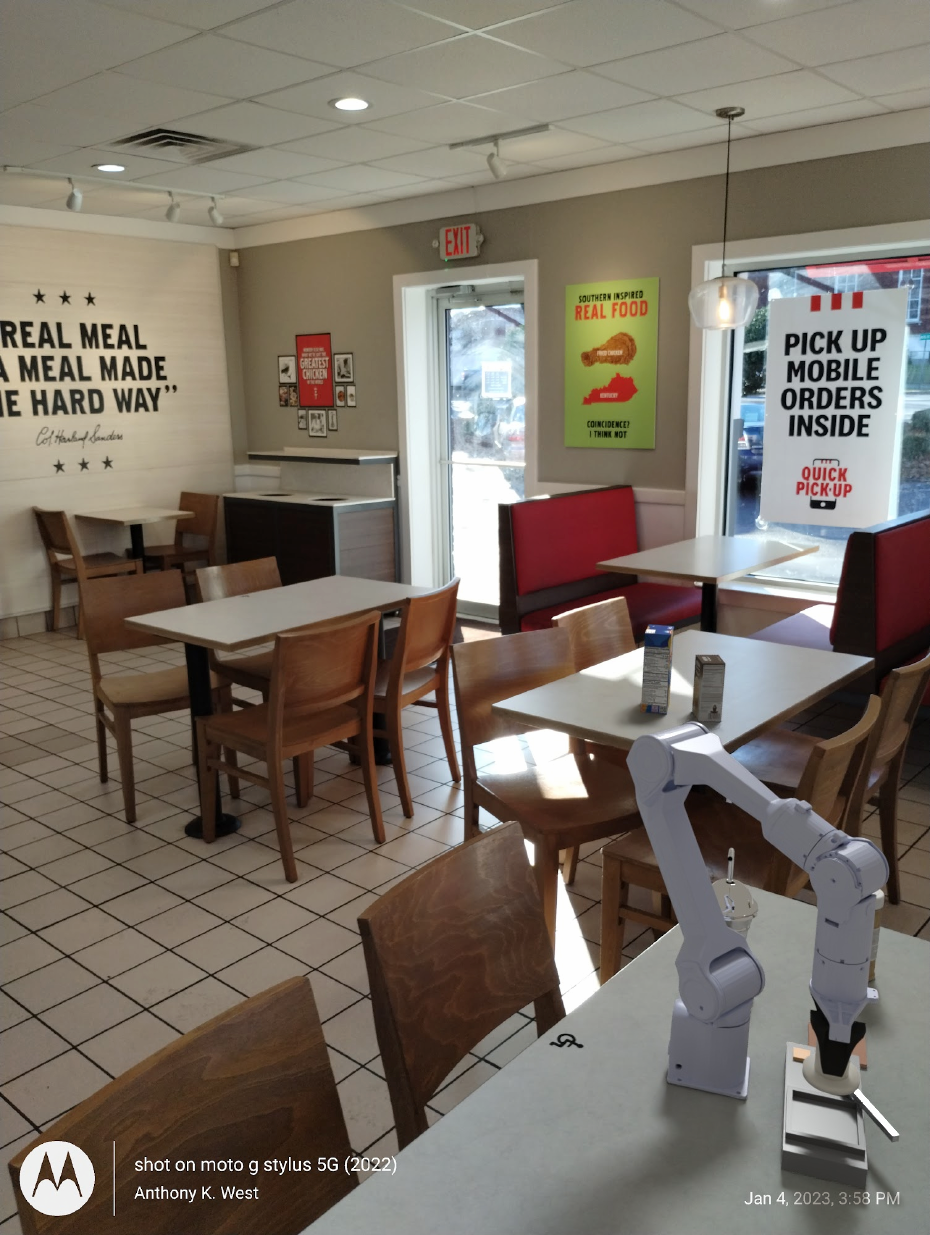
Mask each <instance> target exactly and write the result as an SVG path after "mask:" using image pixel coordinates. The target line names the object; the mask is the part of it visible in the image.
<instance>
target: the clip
mask: <svg viewBox="0 0 930 1235" xmlns="http://www.w3.org/2000/svg"><path fill="white" fill-rule="evenodd" d="M841 1096H842V1097H845V1098H849V1099H851V1098H853V1099H854V1100H855V1101H856V1102H857V1103H858V1104H859V1106H860V1107H861V1108H862V1109H863V1112H864V1113H866V1115H867V1116H868V1117H869V1118H870V1119H871V1120H872V1121H873V1122H874V1123H875V1125H876V1127H878V1128H879V1129H880V1131H881V1132H882V1133H883V1134H884V1135H885V1137H887V1138H888V1140H889V1141H890V1142H891V1143H898V1142H899V1140H900V1134H899V1133H898V1132H897V1131H896V1130H895V1129H894V1127H893V1126H892V1125H891V1124H890V1123H889V1122H888V1121H887V1119H885V1117H884V1116H883V1115H882V1114H881V1113H880V1112H879V1110H878V1109H877V1108H875V1106H874V1105H873V1104H872V1103H871V1102H870V1101H869V1099H868V1098H867V1097H865V1095H864V1094H863V1092H862V1093H861V1092H860V1091H859V1090H858V1089H857V1090H856V1091H855V1092H854V1093H852V1094H848V1095H841Z"/></svg>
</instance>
